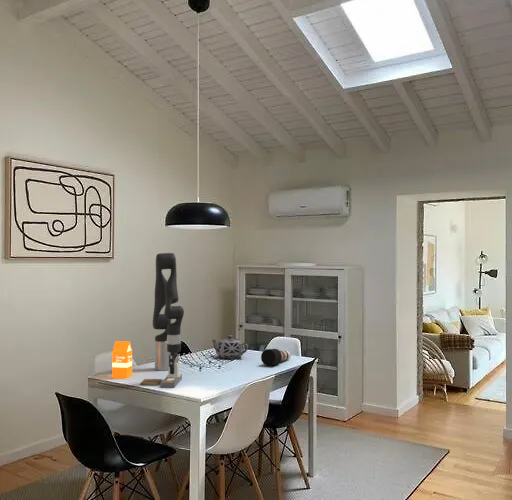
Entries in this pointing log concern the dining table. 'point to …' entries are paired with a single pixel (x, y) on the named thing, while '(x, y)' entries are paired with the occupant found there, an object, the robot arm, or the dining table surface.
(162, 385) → the grey panel with rod
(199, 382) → the dining table surface
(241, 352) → the teapot
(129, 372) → the orange juice
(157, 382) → the walnut board
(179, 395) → the dining table surface
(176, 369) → the plug
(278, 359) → the dark cylindrical piece
